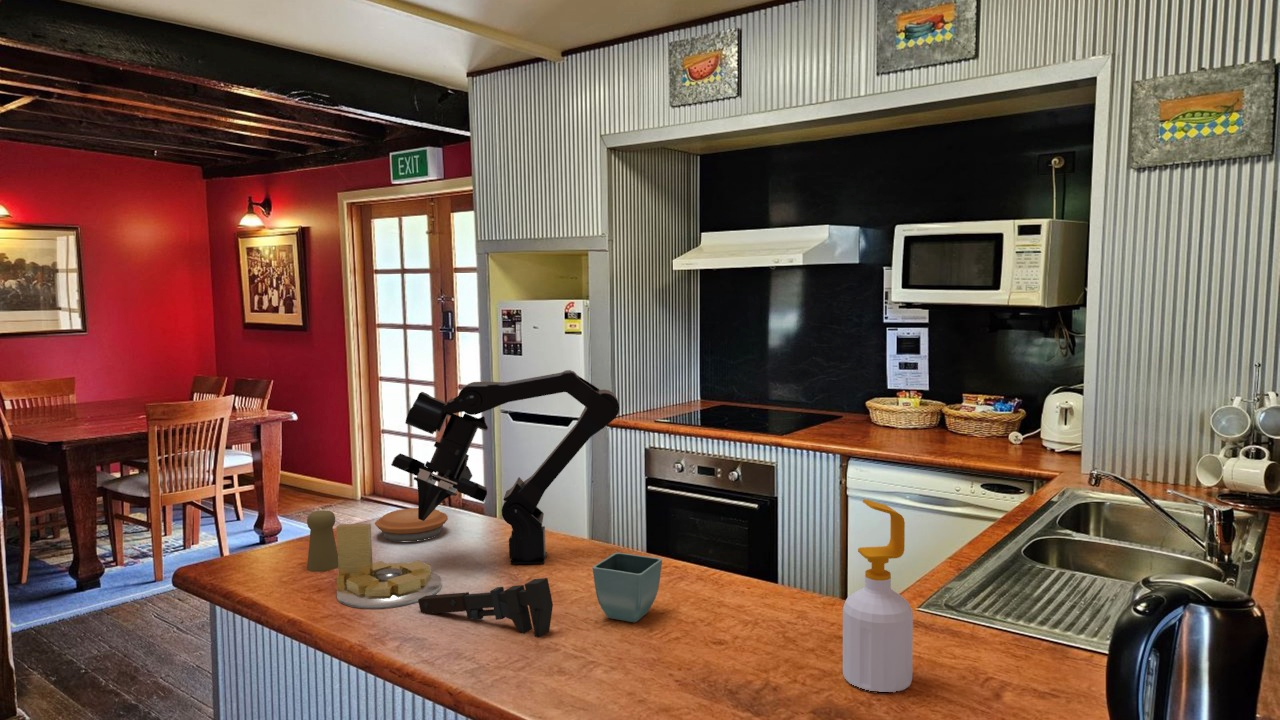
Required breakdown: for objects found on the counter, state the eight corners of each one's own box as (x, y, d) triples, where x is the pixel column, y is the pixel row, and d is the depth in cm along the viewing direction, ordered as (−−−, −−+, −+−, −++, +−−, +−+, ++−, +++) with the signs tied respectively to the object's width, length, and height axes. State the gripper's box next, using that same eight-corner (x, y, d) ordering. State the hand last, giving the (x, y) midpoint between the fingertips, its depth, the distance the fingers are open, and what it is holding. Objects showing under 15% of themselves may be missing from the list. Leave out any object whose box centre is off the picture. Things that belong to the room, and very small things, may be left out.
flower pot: (664, 610, 144) (663, 557, 143) (641, 630, 136) (640, 574, 135) (616, 603, 147) (615, 551, 146) (592, 621, 139) (591, 567, 138)
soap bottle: (834, 666, 122) (834, 494, 119) (897, 663, 122) (898, 492, 120) (855, 696, 113) (856, 511, 111) (923, 692, 113) (925, 508, 111)
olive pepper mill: (345, 561, 172) (342, 507, 171) (331, 572, 166) (328, 515, 165) (315, 561, 172) (313, 507, 172) (301, 571, 166) (298, 515, 166)
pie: (457, 525, 197) (456, 504, 197) (435, 546, 182) (434, 523, 181) (392, 525, 199) (391, 503, 198) (364, 545, 183) (363, 522, 183)
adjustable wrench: (435, 636, 146) (558, 630, 135) (425, 642, 144) (548, 637, 133) (426, 588, 146) (547, 577, 135) (415, 593, 144) (537, 583, 133)
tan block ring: (437, 568, 162) (435, 513, 161) (418, 595, 148) (416, 535, 147) (353, 569, 162) (351, 515, 161) (326, 596, 148) (323, 536, 147)
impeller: (450, 572, 164) (450, 555, 164) (428, 608, 146) (427, 589, 146) (356, 574, 164) (355, 557, 164) (321, 609, 146) (320, 590, 146)
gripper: (511, 467, 172) (479, 542, 169) (432, 438, 178) (400, 509, 174) (489, 455, 162) (455, 535, 158) (407, 424, 168) (372, 500, 164)
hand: (421, 519), depth 164 cm, fingers closed
